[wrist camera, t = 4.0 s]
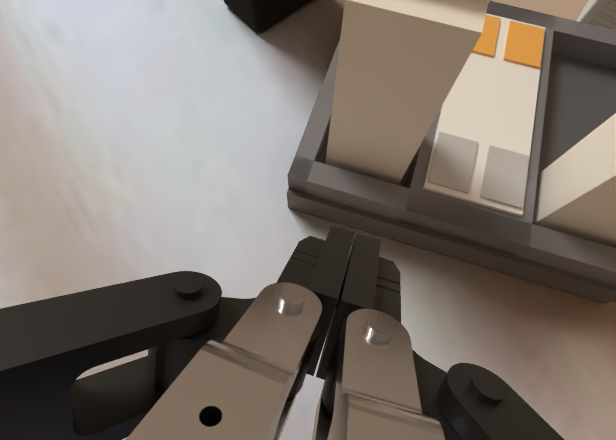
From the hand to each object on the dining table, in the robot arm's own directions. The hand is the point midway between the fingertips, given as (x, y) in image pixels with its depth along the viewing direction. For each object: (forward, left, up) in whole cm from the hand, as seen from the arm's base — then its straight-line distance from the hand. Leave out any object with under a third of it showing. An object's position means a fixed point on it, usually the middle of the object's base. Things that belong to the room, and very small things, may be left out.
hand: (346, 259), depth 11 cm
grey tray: (+14, -1, -9) cm, 16 cm away
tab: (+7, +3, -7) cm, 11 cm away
